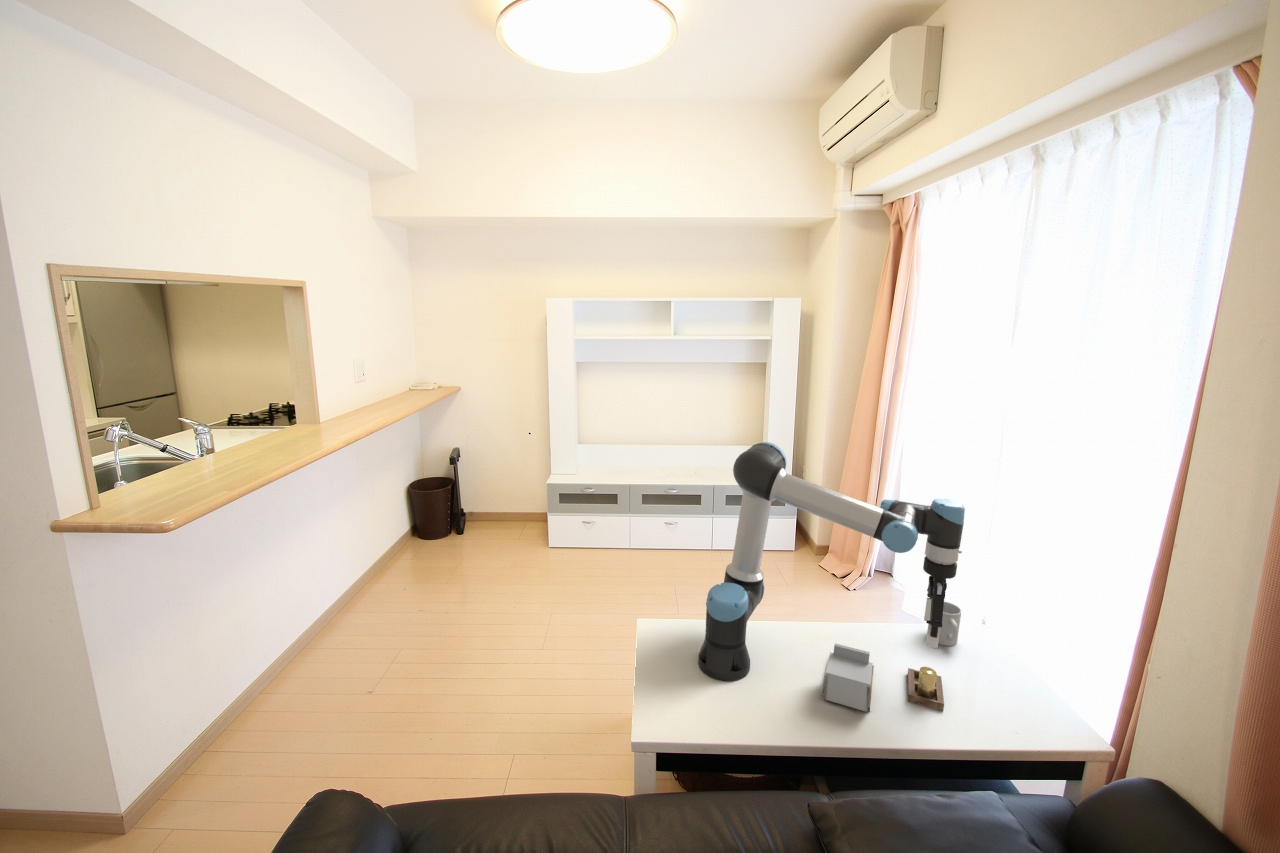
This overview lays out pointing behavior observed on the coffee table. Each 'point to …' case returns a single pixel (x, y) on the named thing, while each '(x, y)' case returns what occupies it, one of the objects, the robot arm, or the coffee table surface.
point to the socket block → (912, 697)
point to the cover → (848, 677)
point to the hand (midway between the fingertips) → (930, 633)
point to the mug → (950, 625)
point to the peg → (926, 682)
